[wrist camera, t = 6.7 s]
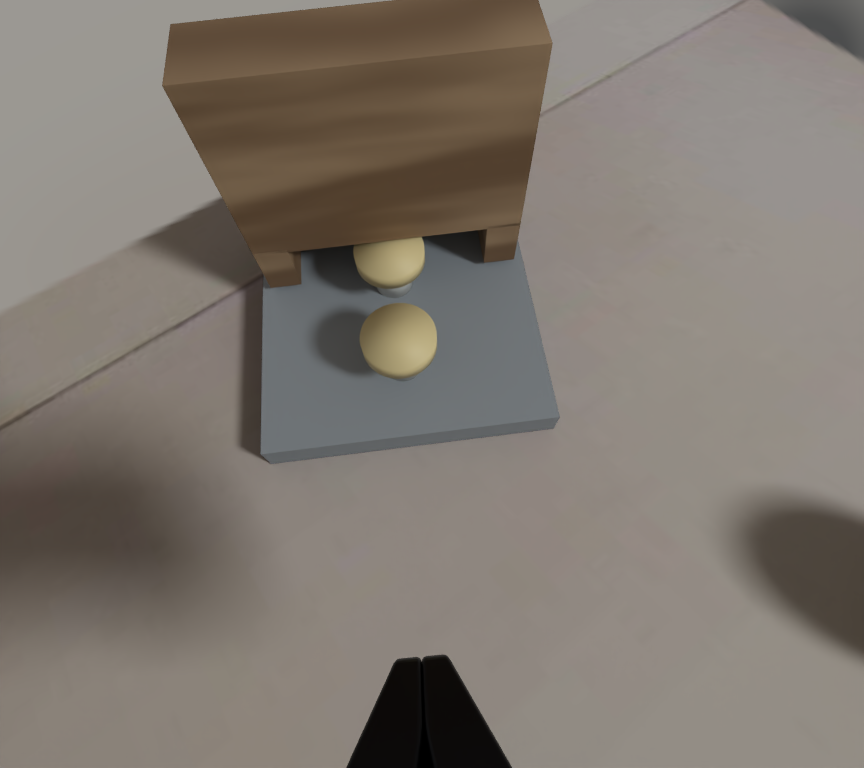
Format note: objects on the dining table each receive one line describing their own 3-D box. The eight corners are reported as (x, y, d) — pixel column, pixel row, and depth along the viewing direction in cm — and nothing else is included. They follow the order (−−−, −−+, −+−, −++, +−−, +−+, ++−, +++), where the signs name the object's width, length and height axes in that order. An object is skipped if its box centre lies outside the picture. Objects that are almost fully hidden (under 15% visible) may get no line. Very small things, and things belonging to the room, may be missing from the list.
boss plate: (553, 428, 24) (587, 366, 18) (271, 463, 24) (212, 412, 18) (503, 211, 30) (517, 108, 24) (272, 238, 29) (227, 140, 23)
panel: (514, 259, 26) (552, 43, 16) (270, 288, 26) (162, 85, 16) (503, 212, 27) (533, -15, 17) (271, 239, 27) (170, 24, 17)
